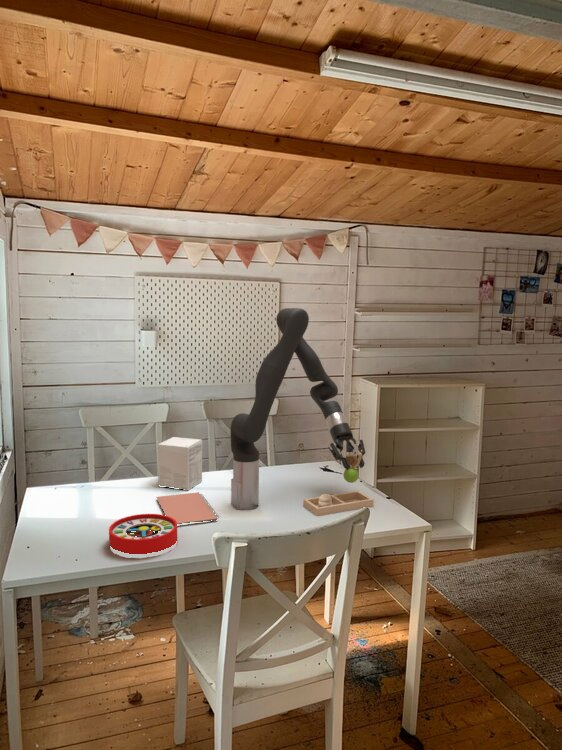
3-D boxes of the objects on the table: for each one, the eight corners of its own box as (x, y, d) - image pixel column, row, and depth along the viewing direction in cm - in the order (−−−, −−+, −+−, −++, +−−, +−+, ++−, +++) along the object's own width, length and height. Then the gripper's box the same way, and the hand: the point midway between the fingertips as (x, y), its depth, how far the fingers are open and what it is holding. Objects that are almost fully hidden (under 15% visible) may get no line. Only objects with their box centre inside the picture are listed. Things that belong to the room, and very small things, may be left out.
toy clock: (174, 511, 183) (180, 536, 164) (175, 528, 184) (180, 556, 164) (110, 516, 178) (107, 543, 159) (110, 534, 179) (108, 563, 159)
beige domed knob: (322, 511, 197) (322, 496, 197) (316, 507, 201) (316, 492, 201) (333, 509, 199) (334, 495, 198) (327, 505, 203) (327, 491, 203)
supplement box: (203, 481, 231) (203, 439, 229) (188, 491, 218) (188, 447, 216) (173, 477, 235) (173, 436, 233) (157, 487, 222) (157, 443, 220)
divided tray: (316, 518, 193) (317, 508, 193) (303, 508, 202) (303, 499, 202) (373, 509, 203) (373, 499, 203) (357, 499, 212) (358, 490, 212)
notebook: (220, 522, 190) (220, 517, 190) (170, 529, 184) (170, 523, 183) (201, 496, 215) (201, 491, 215) (156, 501, 209) (156, 496, 208)
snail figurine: (361, 485, 201) (363, 452, 200) (343, 484, 201) (345, 451, 200) (360, 480, 207) (361, 448, 205) (342, 479, 207) (343, 447, 205)
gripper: (325, 423, 205) (342, 465, 196) (359, 420, 211) (376, 460, 202) (318, 434, 210) (334, 475, 201) (351, 431, 216) (368, 470, 207)
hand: (355, 467), depth 202 cm, fingers closed on snail figurine, 5 cm apart
